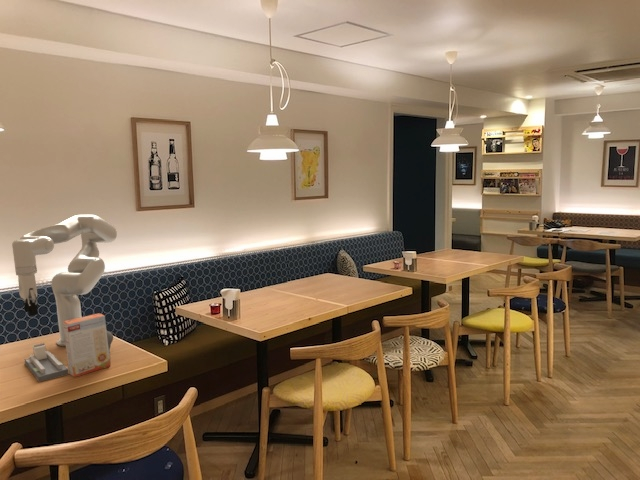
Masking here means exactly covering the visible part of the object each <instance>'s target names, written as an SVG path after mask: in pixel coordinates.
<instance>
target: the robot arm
mask: <svg viewBox="0 0 640 480" xmlns="http://www.w3.org/2000/svg"><path fill="white" fill-rule="evenodd" d="M117 232H118V231H117V229H116V227H115V226H114V225H113V224H112V223H110V222H108V221H107V220H105V219H104V218H102V217H100V216H98V215H95V214H77V215H73V216H71V217H69V218H66V219H64V220H63V221H61V222H59V223H55V224H53V225H49V226H47V227H43V228H40V229H36V230H33V231H30V232H29V233H26V234H24V235H22V236H21V237H19V239H16V240H14V241H12V245H11V247H12V253H13V254H12V255H13V261H14V268H15V269H14V270H15V271H14V272H15V275H16V276H17V279H18V280H17V281H18V292H19V293H18V294H19V296H20V298H21V299H22V300H23V306H24V307H23V308H24V312H25V313H28V316H29V317H32V316H37V315H38V314H39V310H38V304H37V298H38V289H37V287H38V286H37V281H36V274H38V269H37V267H38V266H37V260H36V256H38V255H39V256H40V255H47V254H50V253H51V252H52V251H53V249H54V247H55V245H56V244H63V243H66V242H69V241H70V240H72V239H74V238H76V237H78V236H80V237H81V238H80V239H81V248H80V250H79V251H78V253H77V254H76V255H75V256H74V257H73V258H72V259H71V260H70V262H69V263H68V265H67V272H66V271H65V272H59V273H56V274H54V276H53V277H52V279H51V283H50V284H51V289H52V292H53V294H54V295H53V296H54V298H55V305H56V313H57V322H58V323H57V324H58V330H59V338H58V339H57V340H56V344H57V345H58V346H61V347H66V344H65V336H64V328H63V321H67V320H72V319H76V318H81V317H83V316H82V309H81V300H80V299H79V296H81V295H87V294H89V293H90V292H91V291H92V289H94V287H95V286H96V285H97V283H98V282H99V281H100V279H101V278H102V276H103V275H104V273H105V270H106V263H105V261H104V260H103V259H102V258H101V257H100V251H99V248H98V244H97V243H104V244H105V243H107V244H108V243H112V242H114V241H115V240H116V238H117V235H118V233H117ZM78 295H79V296H78Z"/></svg>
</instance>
